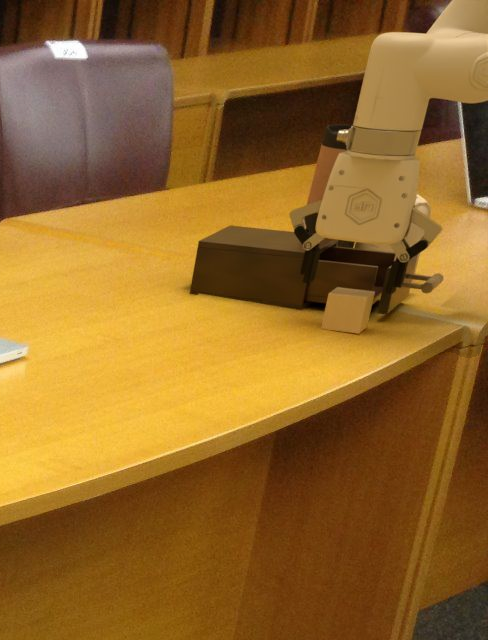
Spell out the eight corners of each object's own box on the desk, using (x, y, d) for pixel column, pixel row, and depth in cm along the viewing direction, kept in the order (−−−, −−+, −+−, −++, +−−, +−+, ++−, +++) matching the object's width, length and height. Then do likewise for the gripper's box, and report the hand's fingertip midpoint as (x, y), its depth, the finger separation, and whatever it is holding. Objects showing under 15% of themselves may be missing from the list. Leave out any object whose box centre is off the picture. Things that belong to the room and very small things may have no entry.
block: (367, 327, 194) (375, 291, 192) (359, 334, 191) (367, 297, 189) (329, 322, 196) (337, 286, 194) (320, 328, 193) (328, 293, 191)
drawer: (441, 300, 204) (452, 255, 201) (421, 319, 194) (433, 272, 191) (302, 283, 213) (311, 241, 210) (277, 300, 203) (286, 256, 201)
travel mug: (345, 268, 226) (381, 126, 217) (349, 279, 220) (387, 134, 211) (289, 263, 229) (323, 122, 219) (292, 274, 222) (327, 130, 213)
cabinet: (327, 292, 212) (339, 236, 209) (300, 311, 202) (312, 253, 198) (219, 279, 220) (229, 225, 217) (188, 297, 209) (198, 240, 206)
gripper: (299, 140, 186) (268, 282, 193) (456, 154, 176) (417, 302, 184) (314, 134, 191) (284, 273, 199) (467, 147, 182) (429, 292, 190)
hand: (348, 287), depth 191 cm, fingers open, 9 cm apart
